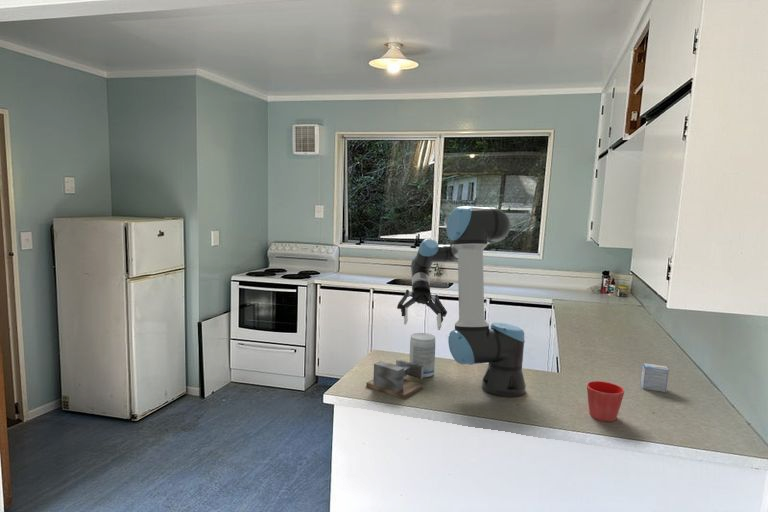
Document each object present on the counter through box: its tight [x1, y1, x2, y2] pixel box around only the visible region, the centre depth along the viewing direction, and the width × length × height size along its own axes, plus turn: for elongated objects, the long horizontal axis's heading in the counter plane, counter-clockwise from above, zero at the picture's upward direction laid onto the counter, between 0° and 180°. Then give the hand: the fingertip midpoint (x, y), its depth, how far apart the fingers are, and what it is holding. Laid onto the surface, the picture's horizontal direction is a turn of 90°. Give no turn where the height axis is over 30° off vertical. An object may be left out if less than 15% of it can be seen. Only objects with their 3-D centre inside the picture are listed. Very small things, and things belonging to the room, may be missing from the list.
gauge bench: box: [365, 360, 424, 400], centre depth 168 cm, size 16×12×9 cm
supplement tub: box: [409, 332, 436, 378], centre depth 182 cm, size 10×10×15 cm
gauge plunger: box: [388, 358, 424, 380], centre depth 174 cm, size 12×6×4 cm, turn 54°
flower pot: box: [586, 380, 625, 422], centre depth 152 cm, size 11×11×10 cm
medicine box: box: [640, 363, 670, 393], centre depth 177 cm, size 8×4×9 cm, turn 71°
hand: (422, 325), depth 186 cm, fingers open, 13 cm apart
